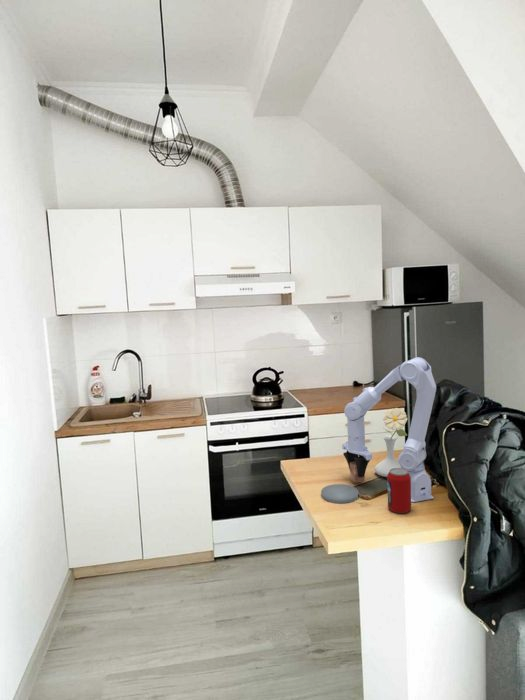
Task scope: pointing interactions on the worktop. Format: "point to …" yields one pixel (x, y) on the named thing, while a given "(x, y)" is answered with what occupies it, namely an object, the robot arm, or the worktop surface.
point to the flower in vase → (391, 440)
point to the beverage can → (399, 490)
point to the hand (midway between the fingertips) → (357, 474)
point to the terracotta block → (355, 473)
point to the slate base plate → (339, 493)
